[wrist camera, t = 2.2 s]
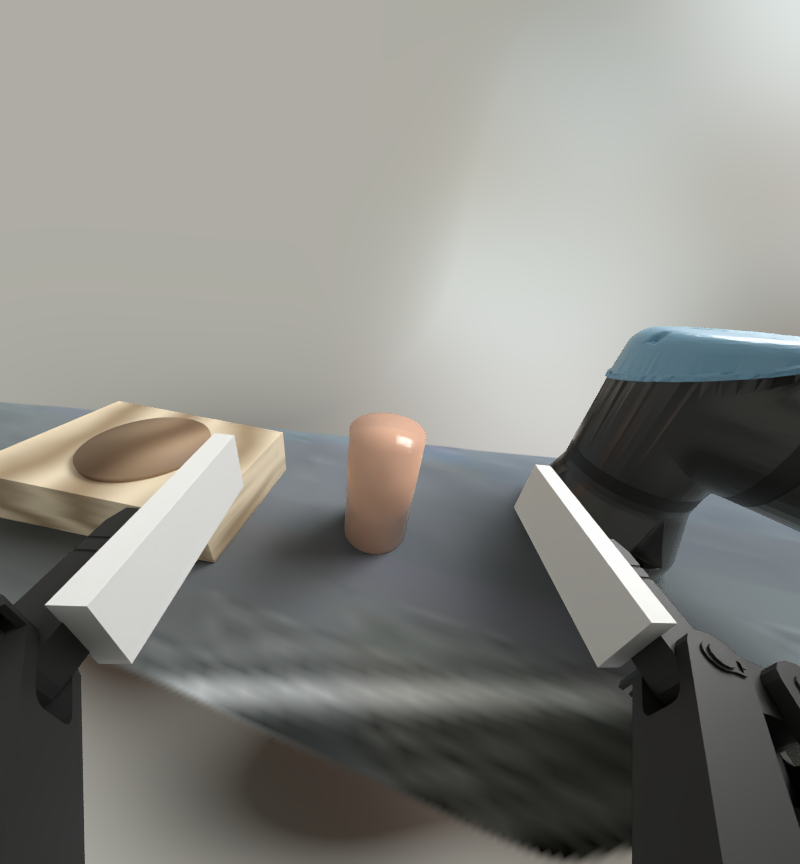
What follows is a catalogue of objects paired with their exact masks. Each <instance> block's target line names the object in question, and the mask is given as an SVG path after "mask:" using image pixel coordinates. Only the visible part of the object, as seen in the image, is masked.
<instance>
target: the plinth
mask: <svg viewBox="0 0 800 864" xmlns="http://www.w3.org/2000/svg"><path fill="white" fill-rule="evenodd" d="M214 433H218V434H228V435H235V441H236V446H237V452H238V458H239V463H240V469H241V474H242V480H243V488H242V489H241V491H240V492H239V494H238V496H237V497H236V499H235V500H234V502H233V504H232V505H231V507H230V508H229V510H228V512H227V513H226V515H225V516H224V518H223V519H222V521H221V523H220V524H219V526H218V527H217V529H216V531H215V532H214V534H213V535H212V537H211V539H210V540H209V542H208V543H207V545H206V547H205V548H204V550H203V551H202V553H201V555H200V556H199V558H198V559H199V560H203V561H208V562H213V563H215V562H216V560H217V559H218V558H219V556H220V555H221V554H222V552H223V551H224V550H225V548H226V547H227V546H228V545H229V543H230V542H231V541H232V539H233V538H234V537H235V535H236V534H237V533H238V532H239V530H240V529H241V528H242V526H243V525H244V524H245V522H246V521H247V520H248V518H249V517H250V516H251V515H252V513H253V512H254V511H255V509H256V508H257V507H258V505H259V504H260V503H261V501H262V500H263V499H264V498H265V496H266V495H267V494H268V492H269V491H270V490H271V488H272V487H273V486H274V485H275V483H276V482H277V481H278V479H279V478H280V477H281V475H282V474H283V473H284V471H285V470H286V463H285V452H284V441H283V432H278V431H273V430H267V429H262V428H257V427H252V426H246V425H241V424H236V423H230V422H226V421H220V420H215V419H210V418H204V417H199V416H194V415H189V414H184V413H178V412H173V411H168V410H163V409H158V408H152V407H147V406H142V405H137V404H132V403H126V402H121V401H118V402H116V403H113V404H111V405H109V406H106V407H104V408H101V409H99V410H97V411H94V412H92V413H89V414H87V415H85V416H82V417H80V418H77V419H75V420H73V421H70V422H68V423H66V424H63V425H61V426H58V427H56V428H54V429H51V430H49V431H47V432H44V433H42V434H39V435H37V436H35V437H32V438H30V439H27V440H25V441H23V442H20V443H18V444H16V445H13V446H11V447H8V448H6V449H4V450H1V451H0V518H5V519H10V520H14V521H19V522H24V523H29V524H33V525H38V526H43V527H47V528H52V529H57V530H62V531H66V532H71V533H76V534H81V535H85V536H89V535H90V534H91V533H92V532H93V531H94V530H95V529H96V528H97V527H98V526H99V525H100V524H101V523H103V522H104V521H105V520H106V519H108V518H109V517H111V516H113V515H115V514H116V513H118V512H120V511H121V510H123V509H125V508H126V507H129V508H141V507H142V506H143V505H144V504H145V503H146V502H147V501H148V500H149V499H150V498H151V497H152V496H153V495H154V494H155V493H156V492H157V491H158V490H159V489H160V488H161V487H162V486H163V485H164V484H165V483H166V482H167V481H168V480H169V479H170V478H171V477H172V476H173V475H174V474H175V473H176V472H177V471H178V470H179V469H180V468H181V467H182V466H183V464H184V463H185V462H186V461H187V460H188V459H189V458H190V457H191V456H192V455H193V454H194V453H195V452H196V451H197V450H198V449H199V448H200V447H201V446H202V445H203V444H204V443H205V442H206V441H207V440H208V439H209V438H210V437H211V436H212V435H213V434H214Z"/></svg>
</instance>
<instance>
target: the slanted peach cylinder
mask: <svg viewBox="0 0 800 864" xmlns="http://www.w3.org/2000/svg"><path fill="white" fill-rule="evenodd" d="M425 442H426V433H425V431H424V429H423V428H422V427H421V426H420V425H419V424H417V423H416V422H415V421H413V420H411V419H408V418H406V417H403V416H400V415H397V414H391V413H372V414H367V415H364V416H361V417H359V418H357V419H356V420H354V421H353V422H352V424H351V426H350V433H349V452H348V471H347V489H346V508H345V528H344V530H345V535H346V537H347V539H348V541H349V542H350V543H351V544H352V546H354V547H355V548H356V549H358V550H360V551H362V552H365V553H369V554H383V553H387V552H389V551H392V550H393V549H395V548H396V547H397V546H399V544H400V543H401V542H402V540H403V538H404V535H405V531H406V527H407V522H408V518H409V513H410V509H411V504H412V500H413V495H414V491H415V487H416V482H417V478H418V473H419V469H420V464H421V460H422V455H423V451H424V447H425Z"/></svg>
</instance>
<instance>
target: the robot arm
mask: <svg viewBox="0 0 800 864" xmlns="http://www.w3.org/2000/svg"><path fill="white" fill-rule="evenodd" d="M606 376H607V378H606V380H605V382H604V384H603V386H602V388H601V389H600V391H599V393H598V395H597V396H596V398H595V400H594V402H593V403H592V405H591V407H590V409H589V411H588V412H587V414H586V416H585V418H584V419H583V421H582V423H581V425H580V427H579V428H578V430H577V432H576V434H575V435H574V438H573V439H572V441H571V443H570V445H569V446H568V448H567V450H566V451H565V452H564V453H563V454H562V455H561V456H559V457H558V458H557V459H556V460H555V461H554V462H552V463H551V464H550V465H549V466H544V465H535V466H534V468H533V470H532V472H531V474H530V476H529V478H528V480H527V482H526V484H525V486H524V488H523V490H522V492H521V494H520V496H519V498H518V500H517V502H516V504H515V506H514V508H515V510H516V512H517V514H518V516H519V518H520V520H521V522H522V524H523V526H524V528H525V529H526V531H527V533H528V535H529V537H530V539H531V541H532V543H533V545H534V547H535V549H536V550H537V552H538V554H539V556H540V558H541V560H542V562H543V564H544V566H545V568H546V570H547V571H548V573H549V575H550V577H551V579H552V581H553V583H554V585H555V587H556V589H557V591H558V593H559V594H560V596H561V598H562V600H563V602H564V604H565V606H566V608H567V610H568V612H569V614H570V615H571V617H572V619H573V621H574V623H575V625H576V627H577V629H578V631H579V633H580V635H581V637H582V638H583V640H584V642H585V644H586V646H587V648H588V650H589V652H590V654H591V656H592V658H593V659H594V661H595V663H596V665H597V667H605V668H620V667H621V666H623V665H624V664H625V663H626V662H628V661H629V660H630V659H632V660H633V662H634V664H635V665H636V667H637V668H638V669H637V670H636V671H634V672H633V673H631V674H630V675H629V676H627V677H626V678H624V679H623V680H622V681H621V682H620V685H619V688H621V689H622V690H624V689H625V688H627V687H628V686H630V685H631V684H633V690H632V691H631V692H630V693H629V695H630V696H631V697H633V732H632V864H800V766H795V765H794V764H793V762H792V761H791V759H790V758H789V756H788V755H787V753H786V750H790V749H793V748H796V747H799V746H800V667H799V666H798V665H796V664H793V663H790V662H786V661H781V662H777V663H775V664H773V665H771V666H769V667H767V668H765V667H762V666H759V665H757V664H754V663H751V662H748V661H746V660H743V659H740V658H739V657H738V656H737V655H736V654H735V653H734V652H733V651H731V650H730V649H729V648H728V647H727V646H726V645H725V644H723V643H722V642H720V641H719V640H718V639H716V638H715V637H713V636H711V635H709V634H707V633H705V632H702V631H697V630H694V629H693V628H692V627H691V626H690V624H689V623H688V622H687V621H686V620H685V619H684V617H683V616H682V615H681V614H680V613H679V611H678V610H677V609H676V608H675V607H674V605H673V604H672V603H671V602H670V601H669V599H668V598H667V597H666V596H665V595H664V593H663V592H662V591H661V590H660V589H659V587H658V586H657V585H656V584H655V583H654V582H655V581H657V580H658V579H659V578H660V577H661V576H662V575H663V574H664V573H665V572H666V571H667V570H668V569H669V568H670V567H671V566H672V564H673V563H674V561H675V557H676V554H677V551H678V548H679V545H680V541H681V538H682V535H683V532H684V528H685V525H686V522H687V519H688V516H689V514H690V512H691V511H692V510H693V509H694V508H695V507H696V506H697V505H698V504H699V503H700V502H701V501H702V500H703V499H704V498H705V497H706V496H708V495H709V494H710V493H711V494H715V495H718V496H720V497H723V498H725V499H727V500H730V501H732V502H734V503H737V504H739V505H741V506H743V507H746V508H748V509H750V510H752V511H755V512H757V513H759V514H761V515H764V516H766V517H768V518H770V519H773V520H775V521H777V522H779V523H782V524H784V525H786V526H788V527H791V528H793V529H795V530H797V531H800V337H797V336H787V335H778V334H771V333H760V332H749V331H738V330H725V329H712V328H697V327H680V326H679V327H678V326H658V327H651V328H647V329H644V330H642V331H640V332H638V333H637V334H636V335H634V336H633V337H632V338H631V339H630V340H629V341H628V342H627V344H626V346H625V347H624V349H623V350H622V352H621V354H620V355H619V357H618V359H617V360H616V362H615V363H614V365H613V367H612V368H610V369H609V370H608V371H607V372H606ZM242 488H243V480H242V474H241V469H240V463H239V458H238V452H237V446H236V441H235V435H228V434H218V433H214V434H213V435H212V436H211V437H210V438H209V439H208V440H207V441H206V442H205V443H204V444H203V445H202V446H201V447H200V448H199V449H198V450H197V451H196V452H195V453H194V454H193V455H192V456H191V457H190V458H189V459H188V460H187V461H186V462H185V463H184V464H183V466H182V467H181V468H180V469H179V470H178V471H177V472H176V473H175V474H174V475H173V476H172V477H171V478H170V479H169V480H168V481H167V482H166V483H165V484H164V485H163V486H162V487H161V488H160V489H159V490H158V491H157V492H156V493H155V494H154V495H153V496H152V497H151V498H150V499H149V500H148V501H147V502H146V503H145V504H144V505H143V506H142V507H141V508H129V507H126V508H125V509H123V510H121V511H120V512H118V513H116V514H115V515H113V516H111V517H109V518H108V519H106V520H105V521H104V522H103V523H101V524H100V525H99V526H98V527H97V528H96V529H95V530H94V531H93V532H92V533H91V534H90V535H89V537H88V538H87V539H84V540H83V541H82V542H81V543H80V544H79V545H78V546H77V547H76V548H74V551H73V552H70V553H69V554H68V555H67V556H66V557H65V558H64V559H63V560H62V561H60V562H59V563H58V564H57V565H56V566H55V567H54V568H53V569H52V570H51V571H50V572H49V573H48V574H46V575H45V576H44V577H43V578H42V579H41V580H40V581H39V582H38V583H37V584H36V585H35V586H34V587H32V588H31V589H30V590H29V591H28V592H27V593H26V594H25V595H24V596H23V597H22V598H21V599H19V600H18V601H17V602H16V603H15V604H14V605H12V604H11V603H10V602H9V601H8V600H7V599H6V598H5V597H4V596H3V595H1V594H0V864H85V857H84V856H85V854H84V810H83V809H84V807H83V759H82V714H81V713H82V710H81V675H80V673H79V670H78V667H79V666H80V665H81V663H82V662H83V661H84V659H85V658H86V657H87V655H88V654H90V655H91V656H92V657H93V658H94V659H95V660H96V661H97V662H98V663H99V664H107V663H108V664H132V663H133V661H134V660H135V658H136V657H137V655H138V653H139V652H140V650H141V649H142V647H143V645H144V644H145V642H146V641H147V639H148V637H149V636H150V634H151V633H152V631H153V629H154V628H155V626H156V625H157V623H158V621H159V620H160V618H161V617H162V615H163V614H164V612H165V610H166V609H167V607H168V606H169V604H170V602H171V601H172V599H173V598H174V596H175V594H176V593H177V591H178V590H179V588H180V586H181V585H182V583H183V582H184V580H185V578H186V577H187V575H188V574H189V572H190V570H191V569H192V567H193V566H194V564H195V563H196V561H197V559H198V558H199V556H200V555H201V553H202V551H203V550H204V548H205V547H206V545H207V543H208V542H209V540H210V539H211V537H212V535H213V534H214V532H215V531H216V529H217V527H218V526H219V524H220V523H221V521H222V519H223V518H224V516H225V515H226V513H227V512H228V510H229V508H230V507H231V505H232V504H233V502H234V500H235V499H236V497H237V496H238V494H239V492H240V491H241V489H242Z"/></svg>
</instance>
